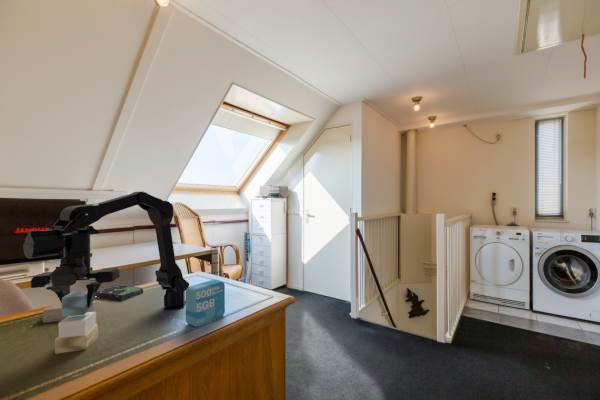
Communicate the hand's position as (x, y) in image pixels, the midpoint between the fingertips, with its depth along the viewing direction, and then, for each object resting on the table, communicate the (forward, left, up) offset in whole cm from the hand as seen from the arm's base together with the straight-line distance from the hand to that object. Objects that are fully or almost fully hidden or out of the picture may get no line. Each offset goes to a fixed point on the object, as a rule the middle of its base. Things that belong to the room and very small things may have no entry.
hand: (77, 308), depth 76 cm
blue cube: (0, 0, -1) cm, 1 cm away
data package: (-33, -7, -10) cm, 35 cm away
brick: (+15, -28, -11) cm, 34 cm away
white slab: (0, 0, -6) cm, 6 cm away
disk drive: (+4, -43, -11) cm, 45 cm away
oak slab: (0, 0, -10) cm, 10 cm away
